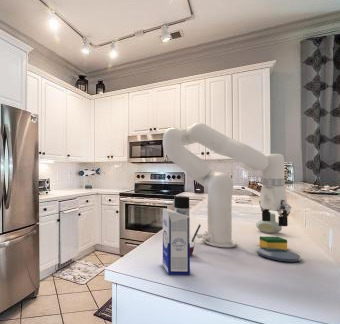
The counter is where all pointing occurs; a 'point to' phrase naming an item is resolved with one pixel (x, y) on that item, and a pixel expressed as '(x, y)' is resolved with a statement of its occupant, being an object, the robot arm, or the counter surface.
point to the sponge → (273, 242)
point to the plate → (278, 254)
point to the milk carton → (176, 242)
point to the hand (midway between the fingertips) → (274, 223)
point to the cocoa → (193, 241)
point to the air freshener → (269, 225)
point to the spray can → (182, 204)
